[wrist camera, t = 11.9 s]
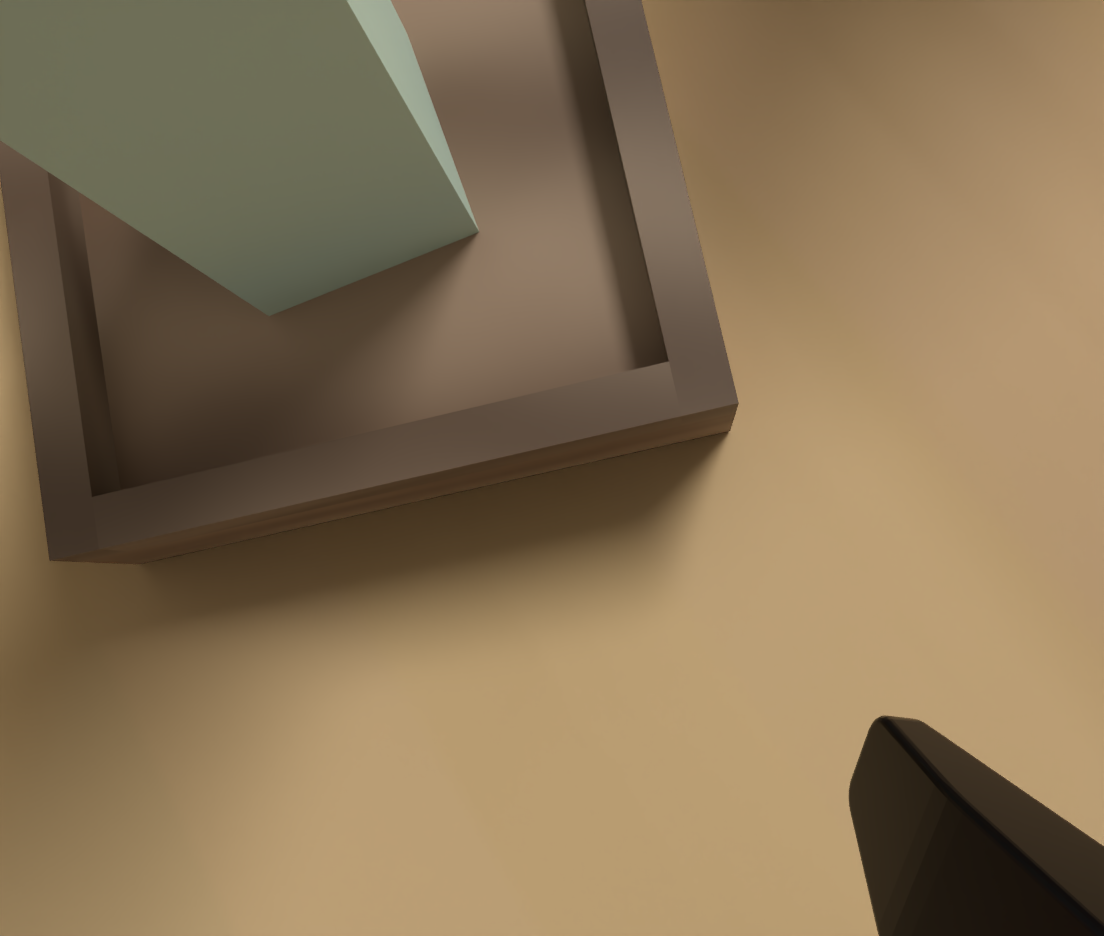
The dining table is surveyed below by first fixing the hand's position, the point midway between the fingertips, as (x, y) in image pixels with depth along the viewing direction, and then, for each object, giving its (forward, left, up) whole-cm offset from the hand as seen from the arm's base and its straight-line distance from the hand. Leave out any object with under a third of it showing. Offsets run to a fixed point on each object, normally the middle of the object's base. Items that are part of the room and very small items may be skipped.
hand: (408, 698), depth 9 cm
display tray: (+10, +2, -11) cm, 15 cm away
